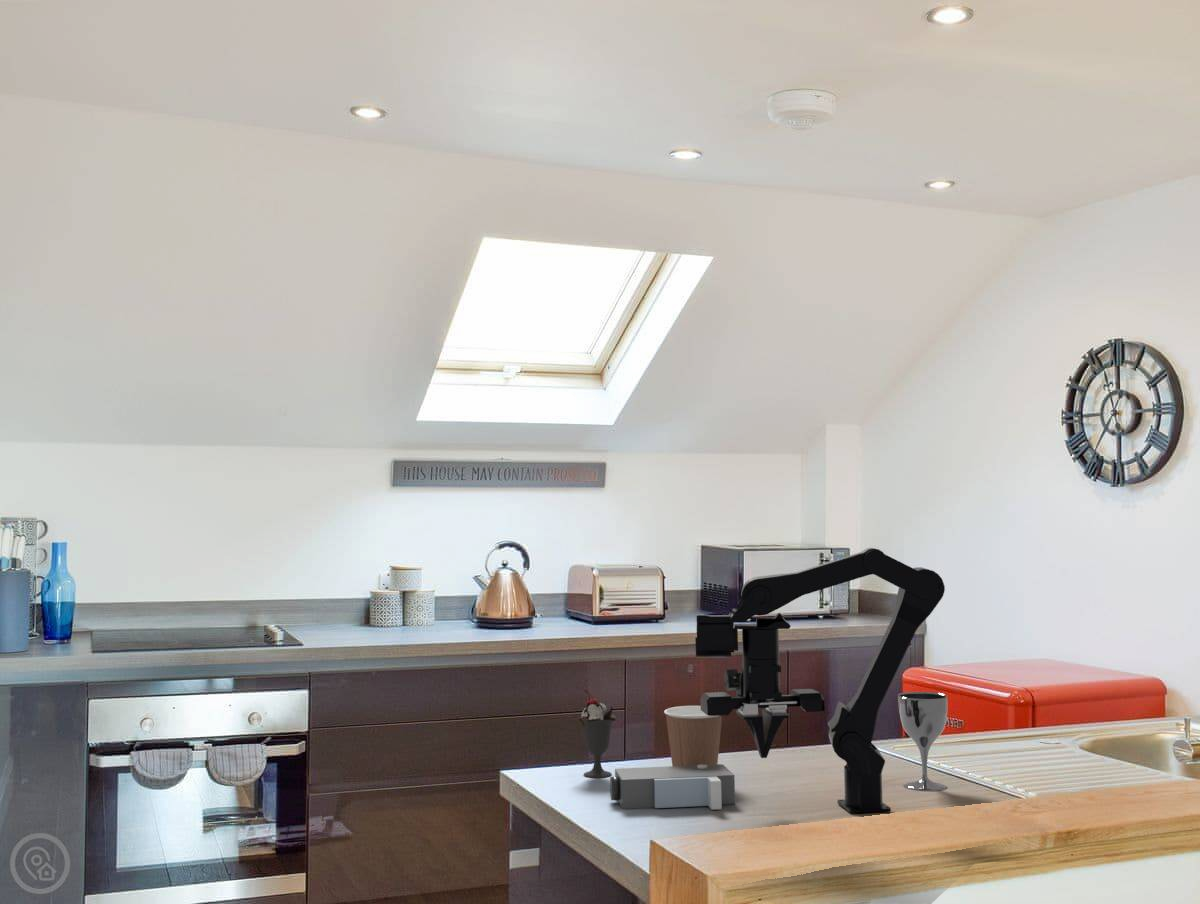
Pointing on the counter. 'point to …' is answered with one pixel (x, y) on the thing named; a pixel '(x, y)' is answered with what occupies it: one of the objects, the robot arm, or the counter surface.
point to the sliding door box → (639, 782)
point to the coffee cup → (693, 736)
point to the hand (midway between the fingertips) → (763, 757)
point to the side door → (688, 792)
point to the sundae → (596, 733)
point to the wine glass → (923, 728)
